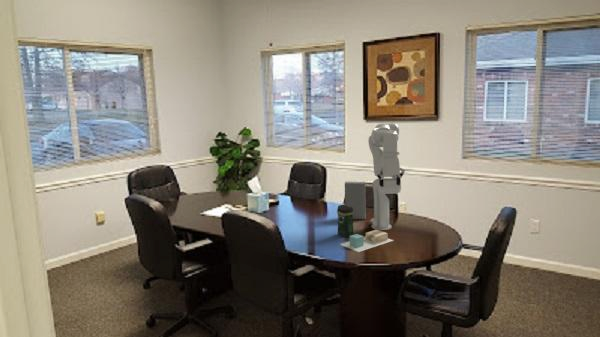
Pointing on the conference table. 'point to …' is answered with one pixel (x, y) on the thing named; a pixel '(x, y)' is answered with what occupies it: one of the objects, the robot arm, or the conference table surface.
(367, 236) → the maple block
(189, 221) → the conference table surface
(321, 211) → the conference table surface
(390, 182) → the robot arm
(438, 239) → the conference table surface
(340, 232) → the coffee jar
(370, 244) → the felt mat
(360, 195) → the cassette tape recorder
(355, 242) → the teal cube
